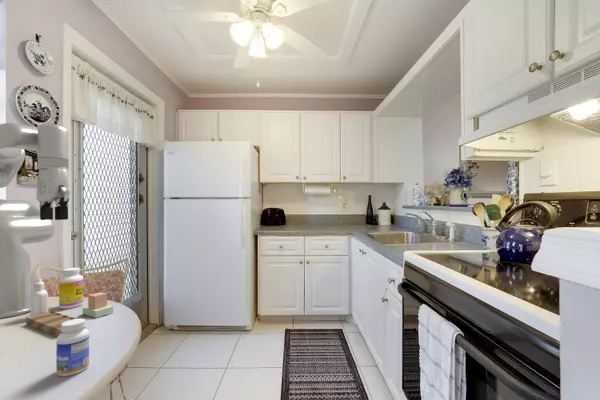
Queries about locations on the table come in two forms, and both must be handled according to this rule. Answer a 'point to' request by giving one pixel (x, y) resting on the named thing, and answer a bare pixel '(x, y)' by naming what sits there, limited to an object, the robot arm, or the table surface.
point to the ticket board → (48, 322)
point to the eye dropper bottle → (39, 299)
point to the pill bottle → (72, 348)
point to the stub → (97, 305)
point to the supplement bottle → (71, 289)
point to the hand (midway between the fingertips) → (53, 219)
